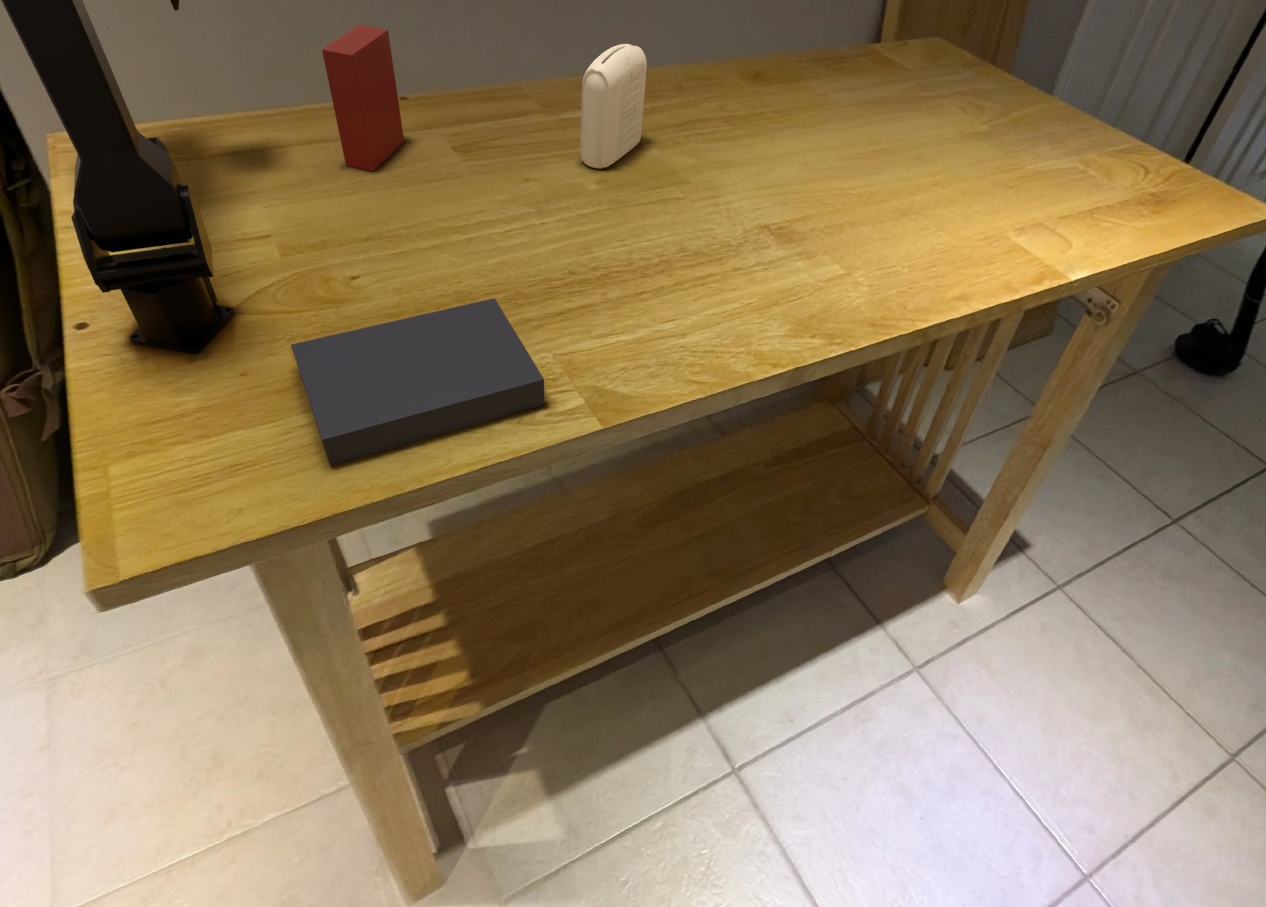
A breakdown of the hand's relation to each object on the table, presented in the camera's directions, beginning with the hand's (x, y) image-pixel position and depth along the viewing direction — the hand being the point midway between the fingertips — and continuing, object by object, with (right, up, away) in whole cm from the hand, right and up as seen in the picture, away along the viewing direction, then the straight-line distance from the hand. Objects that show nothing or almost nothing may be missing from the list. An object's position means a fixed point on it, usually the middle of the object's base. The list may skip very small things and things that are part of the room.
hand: (126, 10), depth 80 cm
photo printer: (+49, -7, +20) cm, 53 cm away
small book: (+20, -9, +15) cm, 27 cm away
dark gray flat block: (+33, -39, -12) cm, 53 cm away
